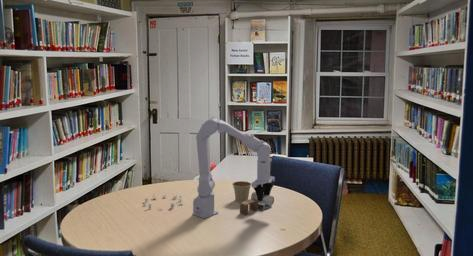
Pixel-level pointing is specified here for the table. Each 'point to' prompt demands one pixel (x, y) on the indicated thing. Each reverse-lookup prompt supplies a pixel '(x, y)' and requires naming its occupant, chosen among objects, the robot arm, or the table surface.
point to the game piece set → (164, 198)
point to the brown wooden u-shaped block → (245, 206)
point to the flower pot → (241, 190)
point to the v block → (263, 206)
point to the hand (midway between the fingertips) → (263, 199)
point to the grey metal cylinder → (263, 199)
